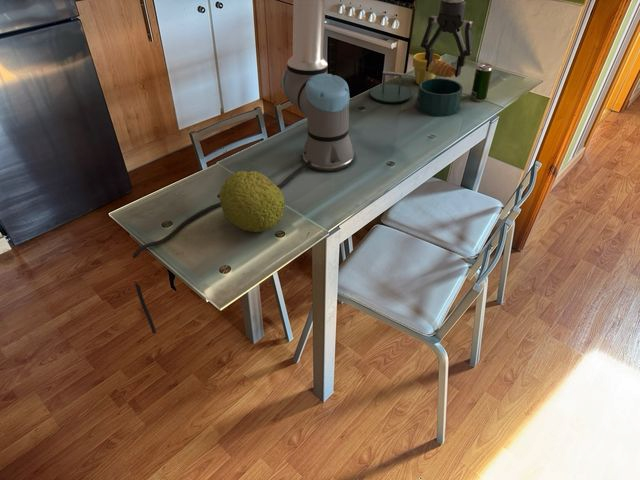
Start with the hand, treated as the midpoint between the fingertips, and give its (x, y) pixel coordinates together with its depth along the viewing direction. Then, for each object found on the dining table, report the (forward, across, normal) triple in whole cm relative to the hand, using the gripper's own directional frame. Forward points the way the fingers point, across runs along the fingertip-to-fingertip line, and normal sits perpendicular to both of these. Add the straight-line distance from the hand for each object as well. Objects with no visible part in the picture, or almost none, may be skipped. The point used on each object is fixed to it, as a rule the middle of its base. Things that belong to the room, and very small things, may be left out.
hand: (442, 72), depth 157 cm
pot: (+12, 0, 0) cm, 12 cm away
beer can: (+12, -9, -14) cm, 21 cm away
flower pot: (+12, +14, -18) cm, 26 cm away
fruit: (+12, +11, +86) cm, 88 cm away
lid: (+12, +19, 0) cm, 22 cm away
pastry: (0, +1, 0) cm, 1 cm away
